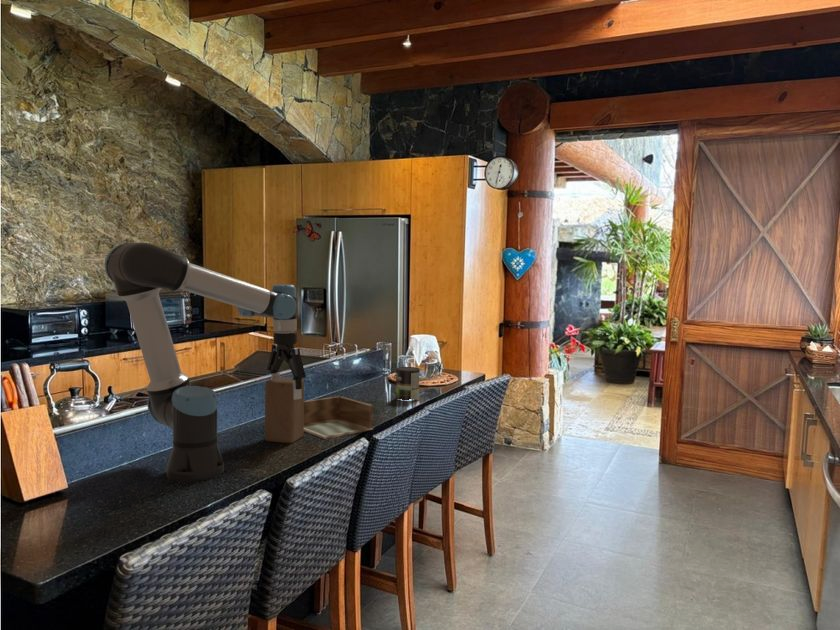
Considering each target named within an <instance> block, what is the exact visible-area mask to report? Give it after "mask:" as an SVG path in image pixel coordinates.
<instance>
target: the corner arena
mask: <svg viewBox="0 0 840 630" xmlns="http://www.w3.org/2000/svg"><path fill="white" fill-rule="evenodd" d="M372 430H374V405H373V404H372V403H371V404H370V403H367V402H363V401H359V400H356V399H353V398H350V397H346V396H343V395H342V396H341V395H337V396H330V397H323V398H318V399H309V400H304V432H305V433H307V434H310V435H313V436H315V437H318V438H320V439H323V440H330V439H333V438H338V437H343V436H349V435H353V434H358V433H363V432H367V431H372Z"/></svg>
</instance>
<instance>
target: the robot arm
mask: <svg viewBox="0 0 840 630" xmlns="http://www.w3.org/2000/svg"><path fill="white" fill-rule="evenodd" d="M104 270H105V273H106V275H107V277H108V279H109V280H110V281H112V283H113V284H114V287H115V289H116V293H117V296H118V298H120V299H122V300H123V301H125V302H126V305H127V308H128V312H129V315H130V317H131V321H132V325H133V328H134V331H135V335H136V337H137V338H136V339H137V341H138V345H139V348H140V350H141V355H142V357H143V360H144V363H145V368H146V371H147V374H148V378H149V381H150V382H148V384H147V386H146V391H147V394H148V397H147V400H146V401H147V402H146V403H147V404H146V407H147V410H148V413H149V415H151V417H152V418H153V419H154V420H155V421H156V422H158V423H159V424H161V425H163V426H166V427H168V428H170V429H172V448H171V452H170V455H169V457H168V461H167V464H166V467H165V468H166V469H165V470H166V471H165V472H166V473H165V474H166V478H168V480H171V481H174V482H175V481H176V482H182V481H183V483H184V482H189V481H192V482H200V481H206V479H207V480H210V479H214V478H216V476H217V477H218V475H219V476H221V475H222V474H223V473H224V471H225V462H224V460H223V457H222V454H221V451H220V448H219V445H218V407H219V405H218V404H219V403H218V397H217V392H216V391H215V390H213V389H212V388H210V387H206V386H199V385H192V383H191V381H190V377H189V375H188V374H185V373H184V372H182V370H181V366H180V363H179V362H180V361H179V359H178V355H177V351H176V349H175V345H174V342H173V338H172V335H171V331H170V328H169V325H168V320H167V317H166V314H165V310H164V307H163V304H162V301H161V298H160V291H161V290H162V289H165V290H168V291H171V292H177V291H179V290H182V291H185V292H187V293H191V294H195V295H198V296H201V297H205V298H208V299H211V300H214V301H218V302H221V303H223V304H228V305H231V306H234V307H236V309H237V312H238V314H239V315H240V316H242V317H262V318H271V319H272V325H273V326H272V330H273V331H274V333H273V344H272V345H271V352H270V356H269V360H268V362H267V363H268V364H267V371H269V373H271V378H270V380H272V379H275V378H277V377H281V374H280V372H281V371H280V368H281V367H282V364H283V362H285V363H287V365H288V367H289V369H290V371H291V374H292V378H293V400H296V399H302V393H301V388H302V385H301V384H302V381H301V380H302V379H304V378H306V376H307V375H306V371H305V368H304V365H303V360H302V357H301V349H300V347H295V346H294V345H296V344H297V343H298V333H297V330H298V329H297V328H298V327H297V323H298V322H297V289H296V286H295V285H294V284H274V285H272V288H271V290H269V289H267V288H265V287H262V286H259V285H256V284H253V283H250V282H248V281H244V280H242V279H238V278H235V277H232V276H229V275H226V274H224V273H220V272H217V271H214V270H211V269H208V268H206V267H203V266H200V265H198V264H194V263H191V262H190V261H189V259H188V258H187V257H185V256H182V255H180V254H177V253H175V252H172V251H170V250H168V249H165V248H162V247H160V246H158V245H155V244H153V243H149V242H125V243H122V244H119V245H117V246H116V245H115V246H114V247H113V248H111V250H109V252H108V253H107V255H106V257H105V260H104ZM221 473H222V474H221ZM220 474H221V475H220ZM199 480H200V481H199Z"/></svg>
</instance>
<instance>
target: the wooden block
mask: <svg viewBox="0 0 840 630" xmlns="http://www.w3.org/2000/svg"><path fill="white" fill-rule="evenodd" d="M293 378H294V377H291V376H290V377H286V376H280V377H277V378H275V379H272V380H271V379H269V380H266V381H265V383H264V439H265V441H266V442H272V443H283V444H294V443H295V442H296V441H298V440H300V439H301V438H303V437H304V434H305V433H304V432H305V431H304V401H305V379H304V378H302V380H301V381H302V384H301V385H302V388H301V393H302V399H296V400H293Z"/></svg>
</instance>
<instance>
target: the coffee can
mask: <svg viewBox="0 0 840 630" xmlns="http://www.w3.org/2000/svg"><path fill="white" fill-rule="evenodd" d="M395 371H396V372H395V399H396V398H397V399H402V400H409V399H418V398H420V371H421V369H420V368H419V367H416V366H400V367H399V366H398V367H396V368H395Z"/></svg>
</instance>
